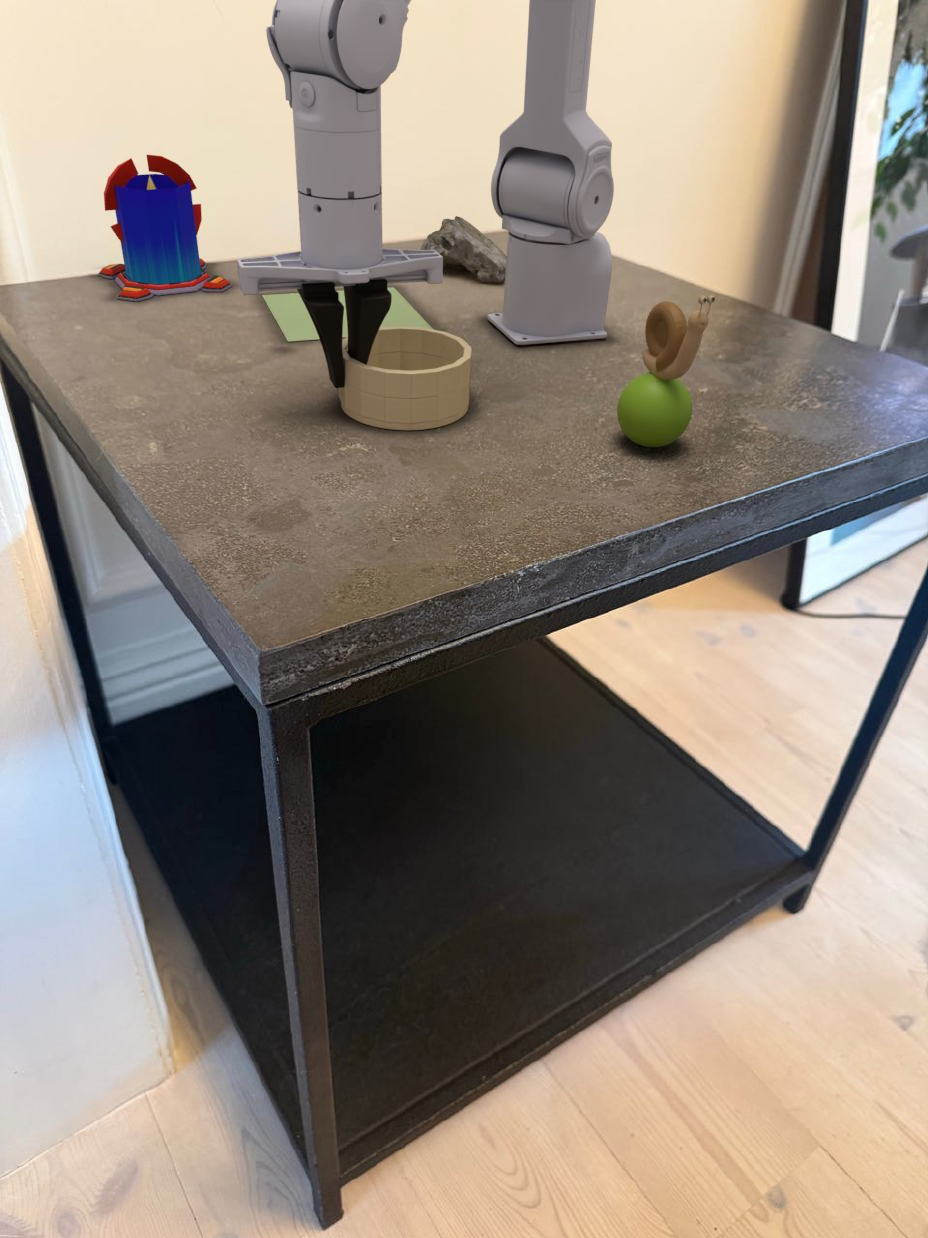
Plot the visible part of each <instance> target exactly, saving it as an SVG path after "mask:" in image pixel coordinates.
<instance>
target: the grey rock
mask: <svg viewBox="0 0 928 1238" xmlns="http://www.w3.org/2000/svg"><path fill="white" fill-rule="evenodd" d="M419 250H435V251H436V252H438V253H439V254H440V255H441V256H442V257H443V267H446V268H457V269H458V268H460V269H461V268H466V269H467V271H470V273H472V274H473V275H475V276H476V277H477V280H478V281H480V282H481V283H491V284H492V283H495V282H503V281H504V280H505V274H506V259H507V254H506V253H504V251H503V250H502V249H501V248H500V247H499V246H497V244H495V242H493V240H491V238H488V236H486V235H484V233H483V232H482V231H480V230H479V229H478V228H477V227H475V226H474V225H473V224H471V223H470V222H469V221H467V220H466V219H465V218H463V217H461V216H457V215H455V216H454V218H453V219H451V218H443V220H442V221H441V226H440V228H439V230H435V231H433V232H432V233H429V234H428V235H426V238H424V240H423V241H422V245H421V246H420V249H419Z"/></svg>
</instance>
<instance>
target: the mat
mask: <svg viewBox="0 0 928 1238" xmlns="http://www.w3.org/2000/svg"><path fill="white" fill-rule="evenodd" d="M387 290H388V291H389V292H390V293H391V294H392V301H391V306H390V310H389V311H388V313H387V315H386V316H385V318H384V320H383V322H382V324H381V326H380V327H393V326H408V327H423V328H429V329H434V328H433V327H432V326H431V325H430V324H429V323H428V322H427V321H426V319H425V318H424V317H422V316H421V314H419V312H417V310H416V309H415V308H414V307H413V306H412V305H411V304H410V303H409V302H408V301H407V299H405V298H404V296H403V295H402V294H401V293H400V292H399V291H398V290H397V289H396V288H395V287H393V286H392V287H387ZM336 292H338V294H339V301H340V302H341V303H342V305H343V306H344V315H343V332H342V339H344V338H346V337H348V327H347V315H346V304H345V296H344V289H342V290H336ZM261 296H262V299H263V300H264V302H265V304H266V305H267V307H268V309H269V311H270V312H271V314H272V316H273V318H274V320H275V321H276V323H277V325H278V327H279V328H280V330H281V332H282V334H283V336H284V338H285V339H286V341H287V342H288V343H291V342H292V343H293V342H305V341H320V339H319V336H318V333H317V331H316V328H315V326H314V324H313V321H312V319H311V317H310V315H309V312H308V310H307V308H306V306H305V304H304V302H303V300H302V298H301V296H300V294H299V292H294V293H278V294H277V293H273V294H262V295H261Z"/></svg>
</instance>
